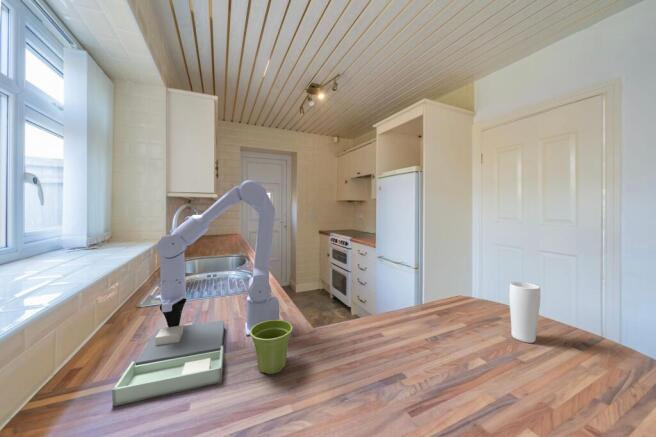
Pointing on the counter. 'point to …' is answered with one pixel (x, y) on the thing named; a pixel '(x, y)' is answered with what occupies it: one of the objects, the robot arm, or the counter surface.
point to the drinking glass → (524, 310)
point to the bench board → (186, 343)
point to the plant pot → (271, 344)
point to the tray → (165, 378)
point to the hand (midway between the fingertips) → (174, 328)
